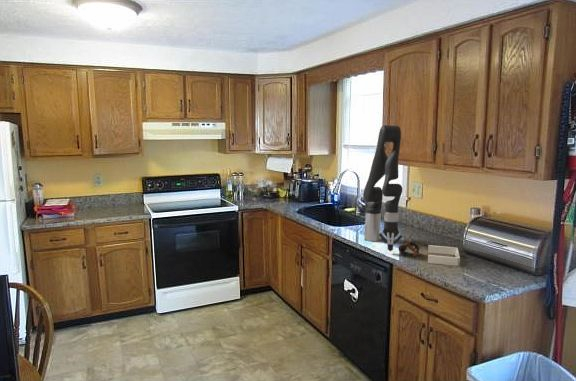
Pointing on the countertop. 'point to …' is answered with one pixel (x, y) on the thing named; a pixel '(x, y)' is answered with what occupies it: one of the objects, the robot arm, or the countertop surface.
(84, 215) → the countertop surface
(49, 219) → the countertop surface
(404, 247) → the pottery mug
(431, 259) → the box
